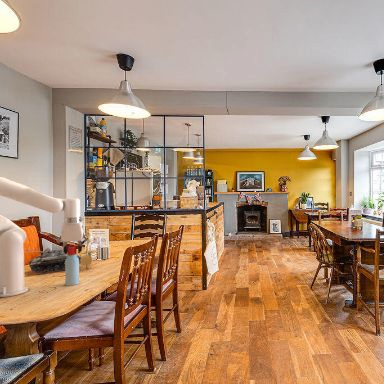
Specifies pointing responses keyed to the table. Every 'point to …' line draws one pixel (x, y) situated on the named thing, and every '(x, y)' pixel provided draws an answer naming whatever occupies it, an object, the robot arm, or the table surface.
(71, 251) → the cap
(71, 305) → the table surface
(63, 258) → the tank
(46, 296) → the table surface
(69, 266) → the bottle
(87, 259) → the wall sconce
